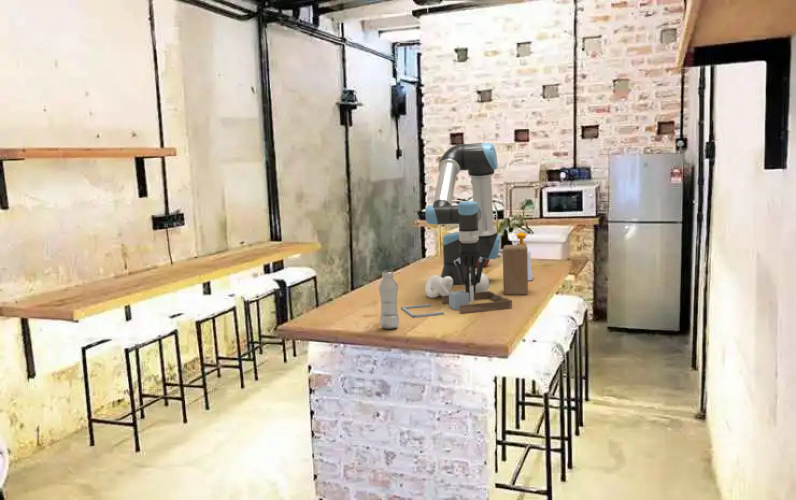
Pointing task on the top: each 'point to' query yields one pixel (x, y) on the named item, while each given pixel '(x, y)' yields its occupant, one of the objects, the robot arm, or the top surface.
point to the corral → (420, 314)
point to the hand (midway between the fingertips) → (470, 301)
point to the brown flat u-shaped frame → (497, 305)
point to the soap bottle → (521, 237)
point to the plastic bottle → (388, 301)
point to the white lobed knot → (438, 286)
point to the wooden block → (515, 270)
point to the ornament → (482, 283)
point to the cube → (458, 299)
